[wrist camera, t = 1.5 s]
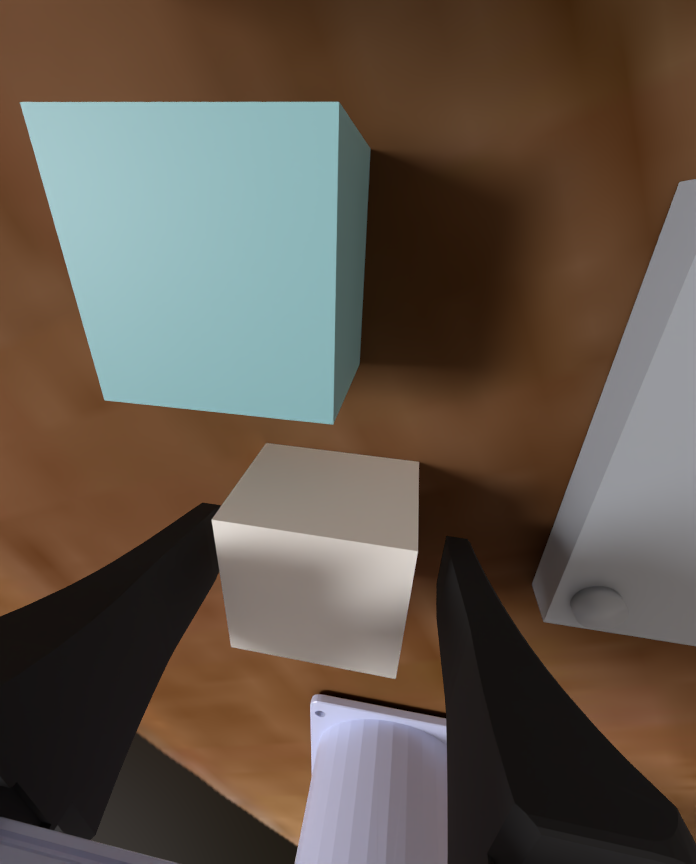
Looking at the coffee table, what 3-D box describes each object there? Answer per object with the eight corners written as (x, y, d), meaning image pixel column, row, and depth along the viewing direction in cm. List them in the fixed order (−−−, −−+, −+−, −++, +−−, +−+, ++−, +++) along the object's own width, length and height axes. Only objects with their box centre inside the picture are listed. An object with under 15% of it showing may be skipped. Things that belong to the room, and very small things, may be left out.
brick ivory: (401, 572, 15) (395, 678, 11) (274, 551, 15) (231, 646, 12) (419, 459, 12) (418, 551, 9) (267, 440, 13) (211, 519, 10)
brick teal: (360, 362, 11) (332, 424, 8) (197, 348, 12) (104, 399, 8) (370, 149, 9) (339, 101, 5) (167, 147, 10) (19, 101, 6)
